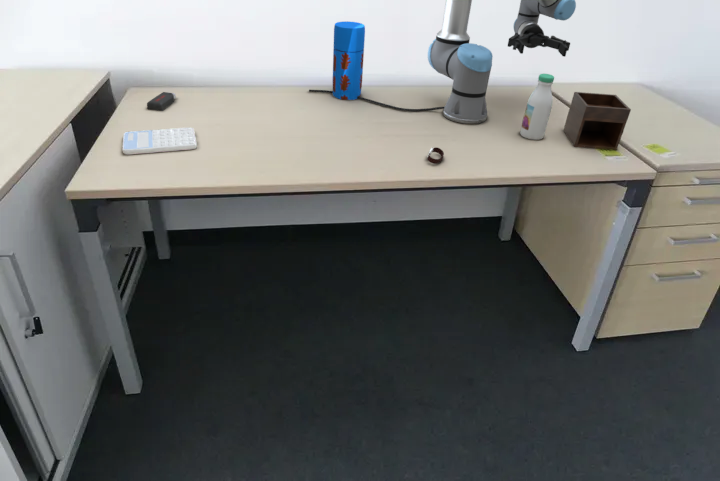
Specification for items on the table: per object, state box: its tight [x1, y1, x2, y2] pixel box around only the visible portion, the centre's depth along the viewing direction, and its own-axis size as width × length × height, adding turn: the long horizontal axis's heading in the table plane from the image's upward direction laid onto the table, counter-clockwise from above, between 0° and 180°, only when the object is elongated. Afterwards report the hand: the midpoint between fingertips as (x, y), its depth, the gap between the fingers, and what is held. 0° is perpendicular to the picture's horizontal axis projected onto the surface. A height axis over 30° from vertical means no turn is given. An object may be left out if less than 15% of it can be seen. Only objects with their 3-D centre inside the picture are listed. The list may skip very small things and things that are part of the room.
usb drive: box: [146, 91, 177, 112], centre depth 180 cm, size 5×12×3 cm, turn 170°
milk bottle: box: [520, 73, 555, 141], centre depth 170 cm, size 8×8×20 cm
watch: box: [426, 146, 445, 165], centre depth 155 cm, size 8×5×4 cm, turn 157°
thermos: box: [332, 21, 366, 101], centre depth 192 cm, size 11×11×25 cm
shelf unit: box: [562, 91, 632, 151], centre depth 172 cm, size 14×14×14 cm
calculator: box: [121, 126, 198, 155], centre depth 155 cm, size 13×20×2 cm, turn 108°
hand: (543, 50), depth 170 cm, fingers open, 13 cm apart
